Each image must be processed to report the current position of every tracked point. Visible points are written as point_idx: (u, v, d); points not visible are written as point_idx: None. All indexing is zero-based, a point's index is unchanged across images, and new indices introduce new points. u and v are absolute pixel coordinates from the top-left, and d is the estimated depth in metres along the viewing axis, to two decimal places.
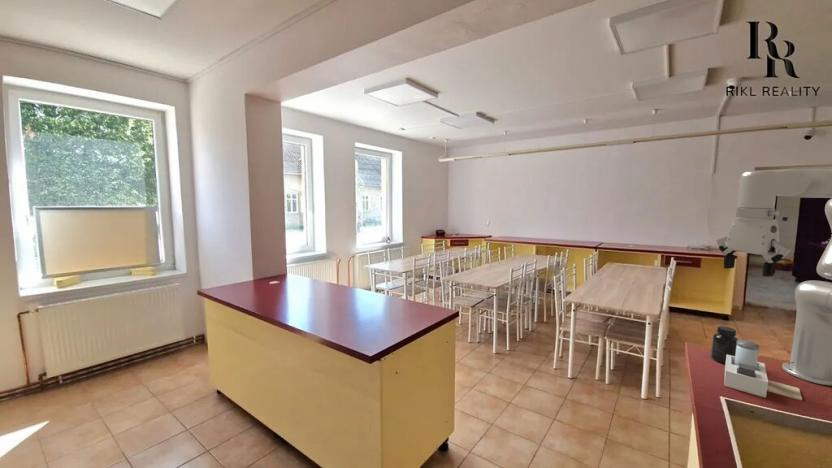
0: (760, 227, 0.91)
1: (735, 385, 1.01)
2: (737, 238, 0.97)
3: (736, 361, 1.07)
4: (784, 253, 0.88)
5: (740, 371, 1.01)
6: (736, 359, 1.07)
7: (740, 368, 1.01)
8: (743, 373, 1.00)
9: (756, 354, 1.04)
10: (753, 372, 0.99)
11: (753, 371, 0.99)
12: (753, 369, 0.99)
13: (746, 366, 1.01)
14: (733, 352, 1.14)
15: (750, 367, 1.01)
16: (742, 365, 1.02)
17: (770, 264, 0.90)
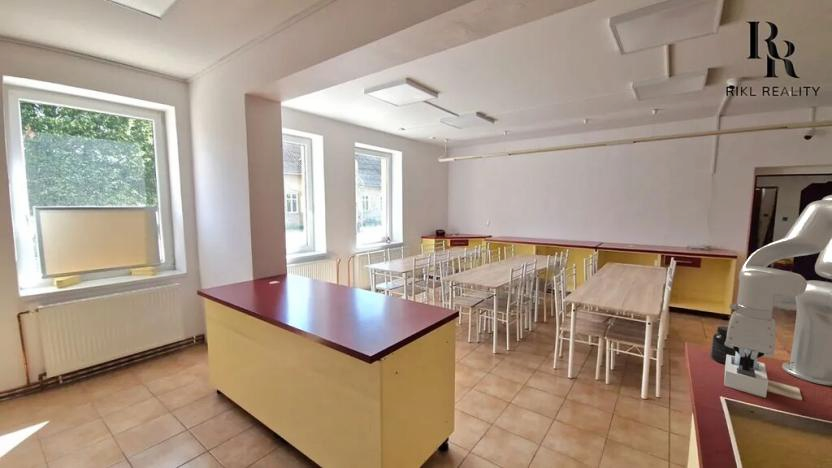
0: None
1: (735, 385, 1.01)
2: None
3: (736, 361, 1.07)
4: None
5: (740, 373, 1.01)
6: (736, 359, 1.07)
7: (740, 370, 1.01)
8: None
9: None
10: (753, 374, 0.99)
11: (753, 373, 0.99)
12: (753, 371, 1.00)
13: None
14: (733, 352, 1.14)
15: (750, 369, 1.01)
16: None
17: None
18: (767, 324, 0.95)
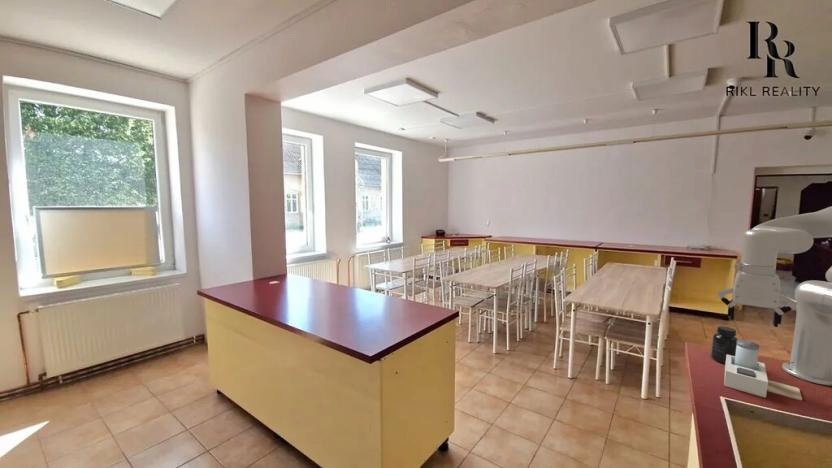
0: None
1: (735, 385, 1.01)
2: None
3: (736, 361, 1.07)
4: None
5: None
6: (736, 359, 1.07)
7: (739, 373, 1.01)
8: None
9: (756, 354, 1.04)
10: None
11: (752, 376, 0.99)
12: (752, 374, 1.00)
13: (745, 371, 1.01)
14: (733, 352, 1.14)
15: (749, 372, 1.01)
16: (741, 370, 1.02)
17: None
18: (772, 280, 0.98)
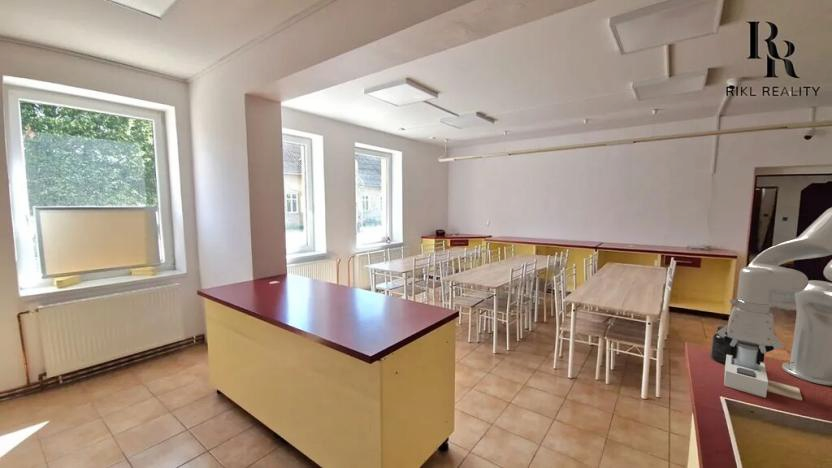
0: None
1: (735, 385, 1.01)
2: None
3: (736, 361, 1.07)
4: None
5: None
6: (736, 359, 1.07)
7: (739, 373, 1.01)
8: None
9: (756, 354, 1.04)
10: None
11: (752, 376, 0.99)
12: (752, 374, 1.00)
13: (745, 371, 1.01)
14: None
15: (749, 372, 1.01)
16: (741, 370, 1.02)
17: None
18: (766, 318, 1.00)
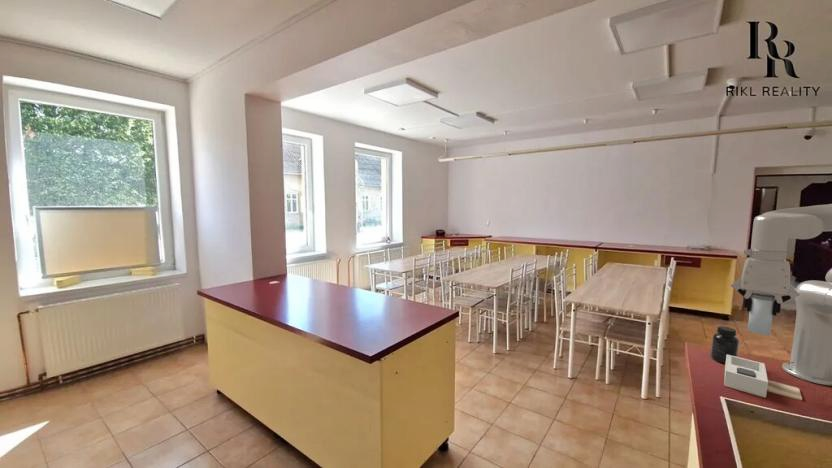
0: None
1: (735, 385, 1.01)
2: None
3: (751, 314, 1.03)
4: None
5: None
6: (750, 312, 1.03)
7: (739, 373, 1.01)
8: None
9: (772, 305, 1.00)
10: None
11: (752, 376, 0.99)
12: (752, 374, 1.00)
13: (745, 371, 1.01)
14: (733, 352, 1.14)
15: (749, 372, 1.01)
16: (741, 370, 1.02)
17: None
18: (782, 266, 0.97)
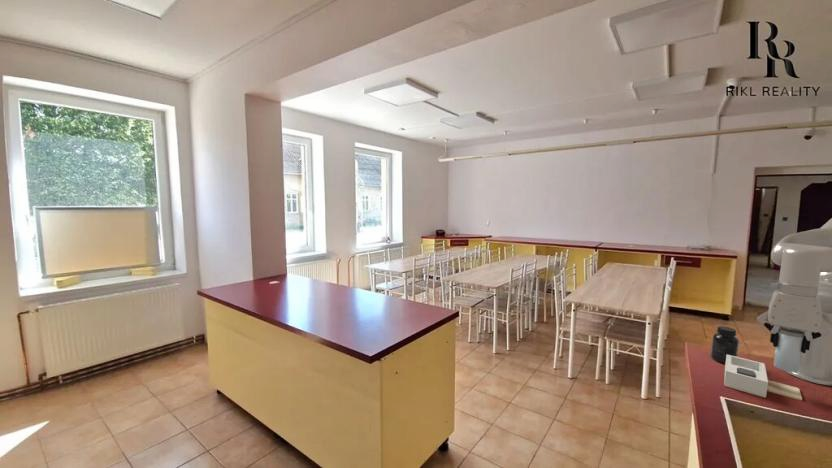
0: None
1: (735, 385, 1.01)
2: None
3: (778, 349, 0.99)
4: None
5: None
6: (778, 347, 0.99)
7: (739, 373, 1.01)
8: None
9: (801, 342, 0.96)
10: None
11: (752, 376, 0.99)
12: (752, 374, 1.00)
13: (745, 371, 1.01)
14: (733, 352, 1.14)
15: (749, 372, 1.01)
16: (741, 370, 1.02)
17: None
18: (813, 302, 0.92)
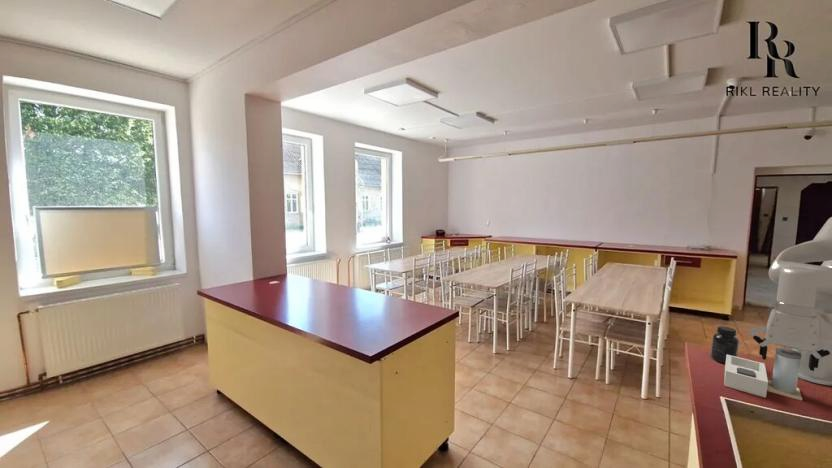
0: None
1: (735, 385, 1.01)
2: None
3: (775, 371, 1.00)
4: None
5: None
6: (775, 368, 1.00)
7: (739, 373, 1.01)
8: None
9: (798, 363, 0.97)
10: None
11: (752, 376, 0.99)
12: (752, 374, 1.00)
13: (745, 371, 1.01)
14: (733, 352, 1.14)
15: (749, 372, 1.01)
16: (741, 370, 1.02)
17: None
18: (810, 322, 0.93)
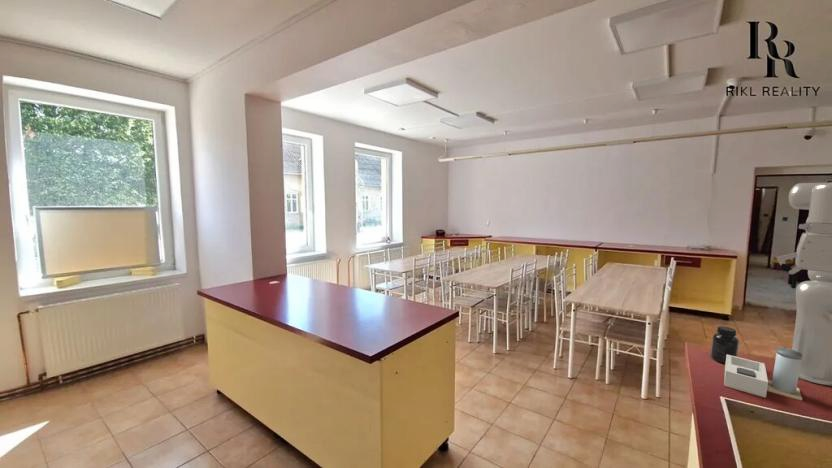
0: None
1: (735, 385, 1.01)
2: None
3: (776, 371, 1.00)
4: None
5: None
6: (776, 368, 1.00)
7: (739, 373, 1.01)
8: None
9: (799, 364, 0.96)
10: None
11: (752, 376, 0.99)
12: (752, 374, 1.00)
13: (745, 371, 1.01)
14: (733, 352, 1.14)
15: (749, 372, 1.01)
16: (741, 370, 1.02)
17: None
18: None
